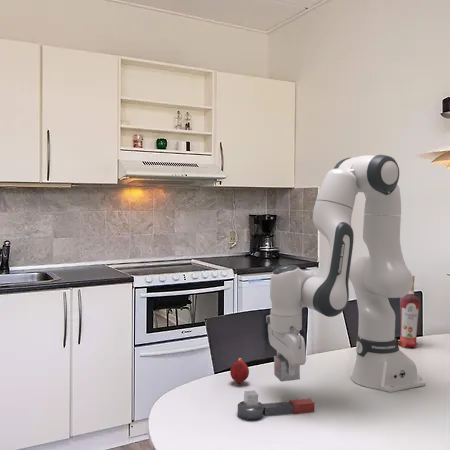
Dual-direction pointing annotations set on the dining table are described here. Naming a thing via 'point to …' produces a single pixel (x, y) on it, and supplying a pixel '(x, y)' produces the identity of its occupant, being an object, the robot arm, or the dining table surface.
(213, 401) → the dining table surface
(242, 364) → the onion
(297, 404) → the ratchet
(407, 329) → the liquor
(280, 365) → the gray cube
